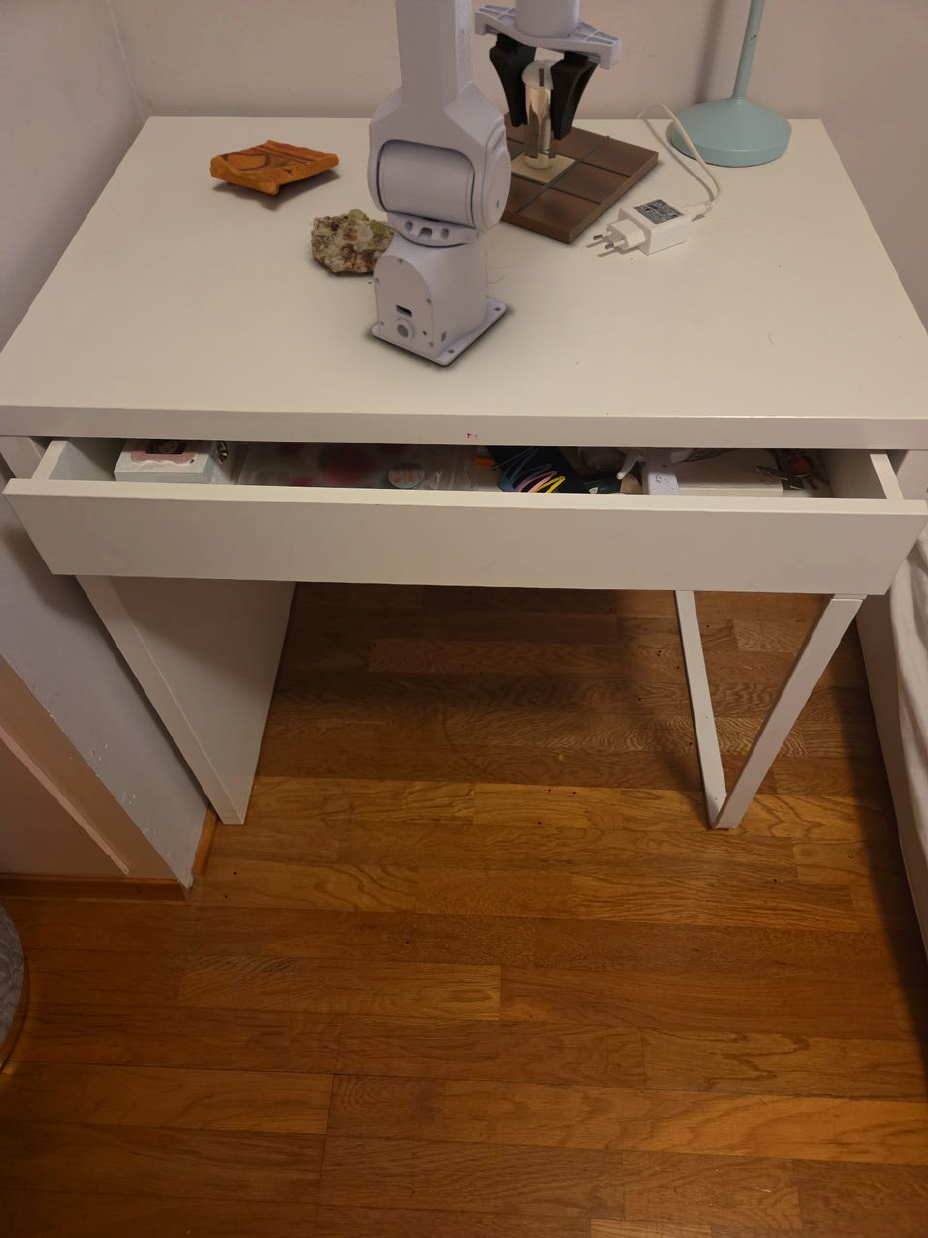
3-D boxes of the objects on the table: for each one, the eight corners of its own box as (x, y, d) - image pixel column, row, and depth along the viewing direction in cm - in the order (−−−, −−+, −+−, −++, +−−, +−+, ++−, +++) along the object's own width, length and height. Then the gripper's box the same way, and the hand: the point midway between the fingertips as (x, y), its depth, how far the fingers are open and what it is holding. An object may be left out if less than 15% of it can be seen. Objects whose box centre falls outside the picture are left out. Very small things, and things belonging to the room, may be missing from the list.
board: (568, 243, 84) (570, 230, 83) (416, 189, 90) (415, 177, 89) (657, 163, 92) (659, 150, 91) (512, 119, 98) (513, 106, 97)
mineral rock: (290, 249, 80) (319, 182, 82) (301, 283, 84) (329, 218, 86) (403, 270, 78) (429, 202, 81) (409, 304, 82) (434, 237, 85)
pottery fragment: (202, 159, 88) (263, 101, 92) (218, 199, 92) (275, 143, 96) (282, 188, 85) (341, 127, 89) (294, 229, 89) (350, 169, 93)
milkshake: (512, 173, 89) (516, 65, 81) (522, 147, 92) (528, 40, 84) (556, 179, 88) (565, 70, 80) (565, 152, 91) (575, 45, 83)
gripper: (646, -33, 76) (625, 131, 87) (504, -64, 81) (502, 95, 92) (605, -5, 72) (589, 162, 83) (460, -40, 77) (463, 122, 88)
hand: (541, 129), depth 87 cm, fingers closed on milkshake, 4 cm apart
